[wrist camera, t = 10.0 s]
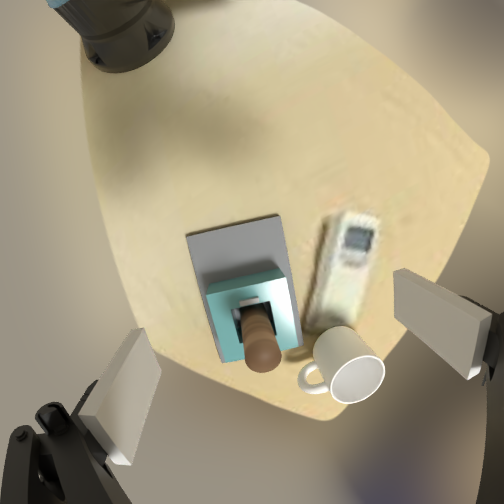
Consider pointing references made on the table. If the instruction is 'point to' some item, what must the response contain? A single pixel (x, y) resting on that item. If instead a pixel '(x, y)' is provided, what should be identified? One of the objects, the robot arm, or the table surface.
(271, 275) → the teal square peg holder
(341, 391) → the mug
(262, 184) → the table surface
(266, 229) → the board
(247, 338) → the wooden rounded dowel
